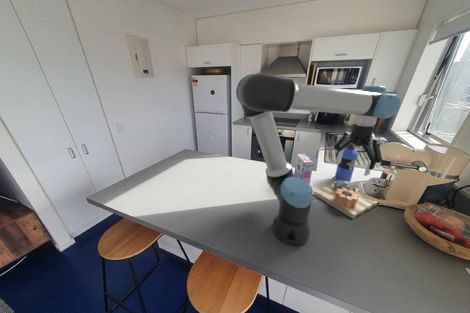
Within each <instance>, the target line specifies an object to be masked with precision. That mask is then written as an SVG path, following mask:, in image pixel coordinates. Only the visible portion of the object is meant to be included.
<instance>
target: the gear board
mask: <svg viewBox="0 0 470 313" xmlns="http://www.w3.org/2000/svg"><path fill="white" fill-rule="evenodd" d="M334 186H335V182H334V183H332V184H329V185H326V186H323V187H321V188H319V189H317V190H313V196H316V197H317V198H318V199H321V200H322V201H324V202H325V203H327V204H329V205H330V206H332V207H334V208H335V209H336V210H338V211H340V212H341V213H342V214H345V215H346V216H348V217H350V218H351V219H354V218H356V217H358V216H359V215H361V214H363V213H364V212H367V211H369V210H370V209H372V208H373V207H375V206H377V205H378V204H377V203H378V202H377V201H372V200H369V199H366V198H364V197H363V196H362V195H361V194H360V193H359V192H358V189H359V188H357V187H356V190H355V194H358V196H359V198H358V201H357V204H356V207H354V208H353V207H350V208H346V207H345V206H342V205H341V206H340V205H338V204H337V201H334V196H335V192H336V191H335V188H334ZM344 195H346V196H350V192H349V191H345V193H344Z"/></svg>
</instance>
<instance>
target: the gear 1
mask: <svg viewBox="0 0 470 313" xmlns="http://www.w3.org/2000/svg"><path fill="white" fill-rule="evenodd" d="M334 183H335V186H334V188H335V191H336V190H337V189H343V188H346V189H347V190H352V191H354V192H355V190H356V188H357V186H356V184H355V183H354V182H351V181H350V182H349V181H342V180H336V181H335V182H334Z"/></svg>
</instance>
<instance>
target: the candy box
mask: <svg viewBox="0 0 470 313" xmlns="http://www.w3.org/2000/svg"><path fill="white" fill-rule="evenodd" d="M294 164H295V166H294V171H293V174H294V176H295V177H297V178H300V179H301V180H305V181H306V182H308V183H309V184H310V183H311V178H312V172H313V168H314V161H313V160H312V159H311V158H310V157H308V155H307V154H306V153H297V154H296V157H295V163H294ZM310 185H311V184H310Z"/></svg>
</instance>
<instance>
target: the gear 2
mask: <svg viewBox="0 0 470 313" xmlns="http://www.w3.org/2000/svg"><path fill="white" fill-rule="evenodd" d="M345 191H349V192H350V196H346V195H344V193H345ZM358 198H359V196H358V194H355V192H354V191H352V190H347V189H346V188H343V189H337V190H336V192H335V196H334V201H337V204H338V205H340V206H341V205H342V206H345V207H346V208H350V207H353V208H354V207H356V204H357V201H358Z"/></svg>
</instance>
